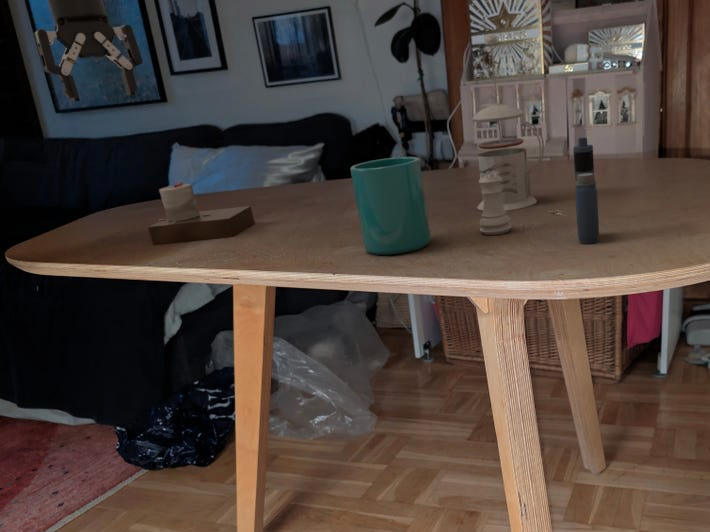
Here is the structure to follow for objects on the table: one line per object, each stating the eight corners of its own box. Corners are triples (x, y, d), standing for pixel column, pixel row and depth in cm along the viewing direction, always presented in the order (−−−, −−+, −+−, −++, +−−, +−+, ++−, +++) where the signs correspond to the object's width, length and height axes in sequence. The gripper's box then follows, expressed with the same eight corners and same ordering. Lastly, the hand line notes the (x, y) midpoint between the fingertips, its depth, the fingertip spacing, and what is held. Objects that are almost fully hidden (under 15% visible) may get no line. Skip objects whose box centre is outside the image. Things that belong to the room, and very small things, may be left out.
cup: (443, 231, 101) (432, 151, 97) (421, 254, 90) (407, 165, 86) (384, 235, 103) (371, 157, 99) (355, 258, 92) (339, 171, 88)
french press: (488, 198, 120) (471, 38, 110) (554, 195, 116) (542, 29, 106) (468, 212, 111) (447, 40, 101) (538, 209, 107) (524, 30, 97)
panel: (149, 245, 117) (143, 226, 115) (176, 231, 126) (171, 213, 125) (233, 236, 115) (228, 217, 114) (254, 222, 124) (250, 205, 123)
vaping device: (597, 232, 90) (592, 136, 85) (600, 243, 85) (595, 141, 80) (577, 234, 90) (571, 138, 86) (578, 245, 86) (572, 143, 81)
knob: (192, 219, 117) (183, 186, 115) (162, 222, 117) (152, 189, 115) (204, 212, 122) (195, 180, 120) (175, 216, 122) (166, 184, 120)
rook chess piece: (494, 226, 100) (488, 169, 97) (518, 228, 97) (512, 169, 94) (473, 234, 97) (466, 175, 94) (497, 236, 94) (490, 176, 91)
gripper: (24, -17, 100) (62, 103, 107) (126, -19, 109) (156, 92, 115) (13, -10, 105) (50, 104, 112) (112, -13, 114) (141, 93, 120)
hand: (104, 98), depth 114 cm, fingers open, 8 cm apart
